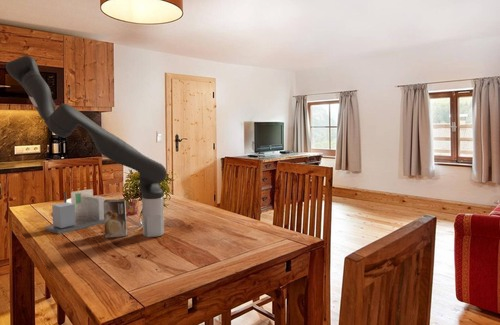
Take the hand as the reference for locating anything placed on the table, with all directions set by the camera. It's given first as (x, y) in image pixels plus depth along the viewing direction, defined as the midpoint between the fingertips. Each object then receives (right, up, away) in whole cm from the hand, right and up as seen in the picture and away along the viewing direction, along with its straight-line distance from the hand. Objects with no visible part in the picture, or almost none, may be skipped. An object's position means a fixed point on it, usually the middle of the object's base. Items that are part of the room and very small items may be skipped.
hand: (58, 128), depth 162 cm
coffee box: (+28, -49, -4) cm, 56 cm away
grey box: (0, -46, +5) cm, 46 cm away
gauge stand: (+3, -47, +9) cm, 48 cm away
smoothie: (+22, -45, +34) cm, 61 cm away
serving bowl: (-6, -44, +40) cm, 60 cm away
